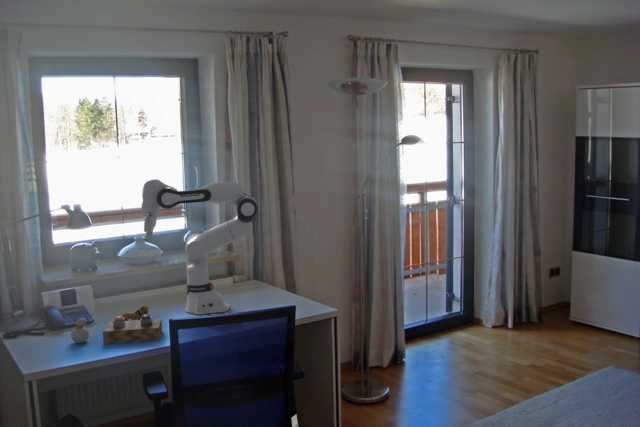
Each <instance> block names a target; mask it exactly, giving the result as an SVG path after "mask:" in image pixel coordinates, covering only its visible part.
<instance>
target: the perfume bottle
mask: <svg viewBox="0 0 640 427" xmlns="http://www.w3.org/2000/svg"><path fill="white" fill-rule="evenodd" d="M86 325H87V319H86V318H83V317H80V316H78V318H77V322H75V327H74V328H73V330H72V331H71V335H70V336H71V340H72V341H73V343H76V344H83V343H85V342H87V341H88V339H89V337H90V333H89V330H88V329H87V328H86V327H85V326H86Z"/></svg>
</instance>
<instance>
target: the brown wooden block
mask: <svg viewBox="0 0 640 427" xmlns="http://www.w3.org/2000/svg"><path fill="white" fill-rule="evenodd" d="M162 321H163V320H162V318H157V319H156V318H155V319H154V318H152V325H150V326H141V320H128V321H125V326H124V327H119V328H113V321H109V322H107V323H106V325H105V326H104V328H103V331H102V339H103V340H102V342H103V344H102V345H104V346H105V345H116V344H117V345H119V344H118V343H121V344H133V343H134V342H135V343H146V342H145V341H150V342H160V339H161V337H160V336H162V333H163V322H162Z"/></svg>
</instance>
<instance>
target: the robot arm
mask: <svg viewBox="0 0 640 427" xmlns="http://www.w3.org/2000/svg"><path fill="white" fill-rule="evenodd" d="M141 196H142V203H141V216H142V215H143V218H144V223H143V224H144V225H143V232H145V235H146V236H145V237H146V241H150V240H151V238H152V237H153V232H154V228H155V227H156V225H157V219H158V216H160V214H161V213H160V212H161V211H160V208H162V209H166V210H168V209H169V210H170V209H173V208H174V207H176V206H179V205H181V204H182V205H183V204H193V203H195V204H196V203H201V204H202V203H203V204H213V205H218V204H222V205H223V204H232V205H234V206H235V211H236V215H235V217H233V218H232V219H230V220H227V221H224V222H223V223H220V224H217V225H215V226H213V227H211V228H210V229H208V230H206V231H204V232H202V233H193V234H191V235H190V236H188V237H187V240H186V241H185V245H184V250H185V254H186V279H187V280H186V282H187V283H186V286H185V287H186V295H187V297H186V298H187V300H186V301H187V302H186V307H185V312H186V313H188V314H195V315H198V314H199V315H207V314H215V313H223V312H224V313H225V312H227V311H229V310H230V304H229V303H227V302H226V300H225V297H224V296H223V294H222V293H221V292H218V291H217V290H215V289H214V288H215V286H214V283H213V282H210V279H209V278H210V275H209V254H211V253H213V252H216V251H217V250H218V249H221V248H223V247H225V246H227V245H229V244H232V243H233V242H236V241H238V240H241V239H242V238H244V237H245V236H247V235H249V234H250V233H251V232H252V230H253V223H252V221H253V220H254V219H255V217H256V215H257V214H258V211H259V204H258V202H257V200H256V198H254V197H253V196H250V195H249V194H246V193H245V192H244V188H243V187H242V184H241V183H239V182H234V181H215V182H211V183H207V184H205V185H203V186H201V187H199V188H197V189H189V190H188V189H187V190H178V189H177V188H175V187H173V186H171V185H168V184H166V183H164V182H163V181H161V180H160V179H158V178H155V179H154V178H153V179H147V180H146V181H144V183H143V185H142V195H141Z"/></svg>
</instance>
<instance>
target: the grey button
mask: <svg viewBox="0 0 640 427" xmlns="http://www.w3.org/2000/svg"><path fill="white" fill-rule="evenodd" d="M152 317H153V316H152V315H151V314H149V313H148V314H145V315H142V316H141V319H140V320H141V326H150V325H152V319H153V318H152Z"/></svg>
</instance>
